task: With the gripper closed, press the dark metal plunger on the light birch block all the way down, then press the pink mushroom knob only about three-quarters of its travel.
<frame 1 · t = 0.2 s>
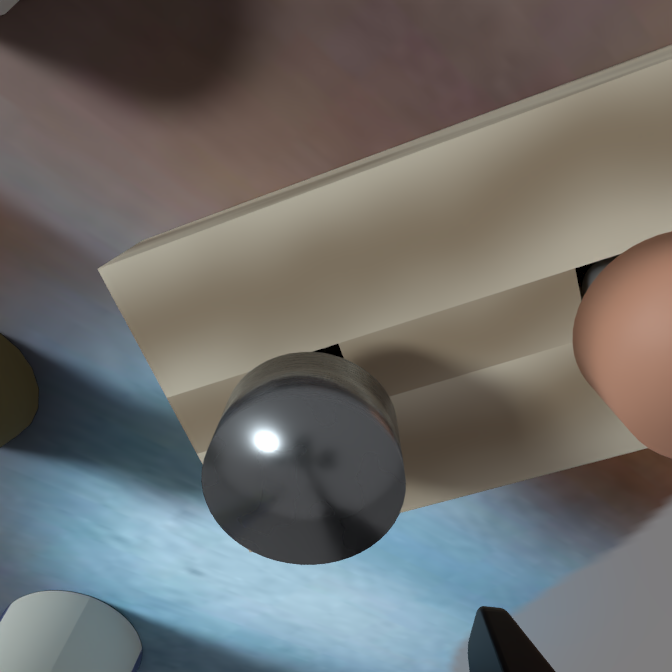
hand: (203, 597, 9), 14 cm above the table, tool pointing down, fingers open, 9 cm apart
water bottle: (68, 637, 29), on the table
pink mushroom knob: (658, 316, 15), point 6 cm above the table, slide at 0.0 cm
metal plunger: (312, 419, 16), point 6 cm above the table, slide at 0.0 cm
plunger block: (442, 300, 21), on the table
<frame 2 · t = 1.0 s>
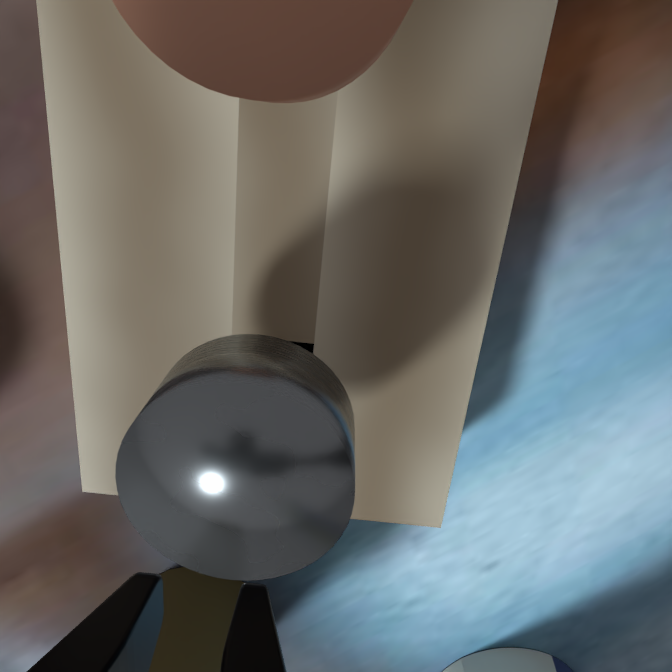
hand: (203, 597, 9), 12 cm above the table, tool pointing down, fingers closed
metal plunger: (259, 412, 14), point 6 cm above the table, slide at 0.0 cm
plunger block: (295, 187, 18), on the table
cork: (202, 611, 26), on the table
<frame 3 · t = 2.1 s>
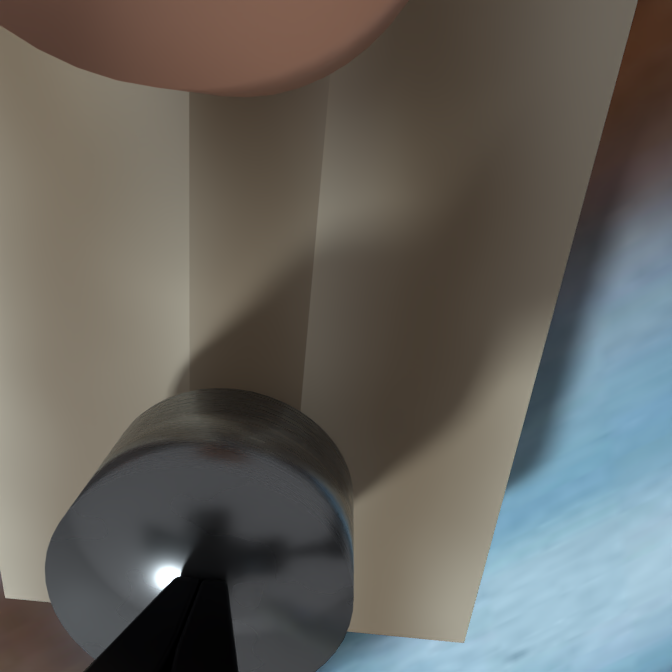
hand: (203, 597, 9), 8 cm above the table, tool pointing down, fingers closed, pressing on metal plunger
metal plunger: (237, 476, 12), point 5 cm above the table, slide at 1.6 cm, touching gripper
plunger block: (278, 208, 14), on the table
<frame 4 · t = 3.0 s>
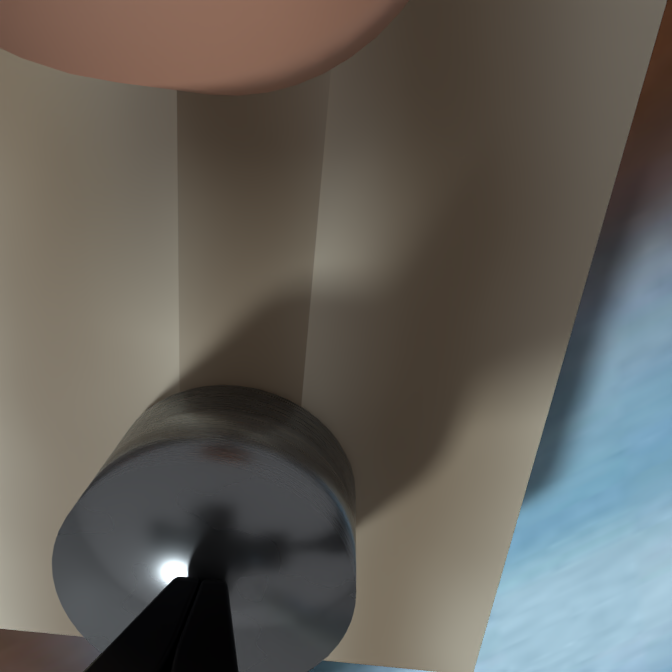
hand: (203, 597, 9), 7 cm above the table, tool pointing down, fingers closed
metal plunger: (240, 473, 12), point 4 cm above the table, slide at 2.6 cm
plunger block: (276, 214, 13), on the table
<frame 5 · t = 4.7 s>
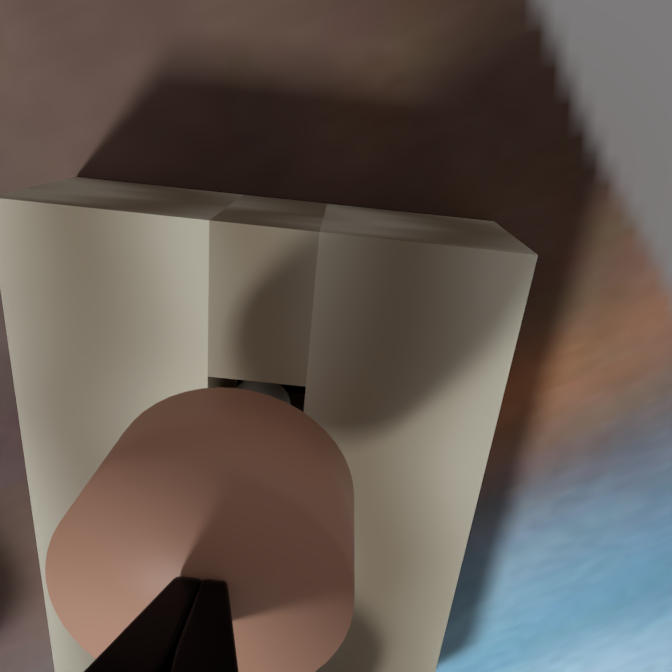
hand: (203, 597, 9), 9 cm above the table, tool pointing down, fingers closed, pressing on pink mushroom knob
pink mushroom knob: (238, 476, 12), point 6 cm above the table, slide at 0.0 cm, touching gripper
plunger block: (267, 484, 19), on the table
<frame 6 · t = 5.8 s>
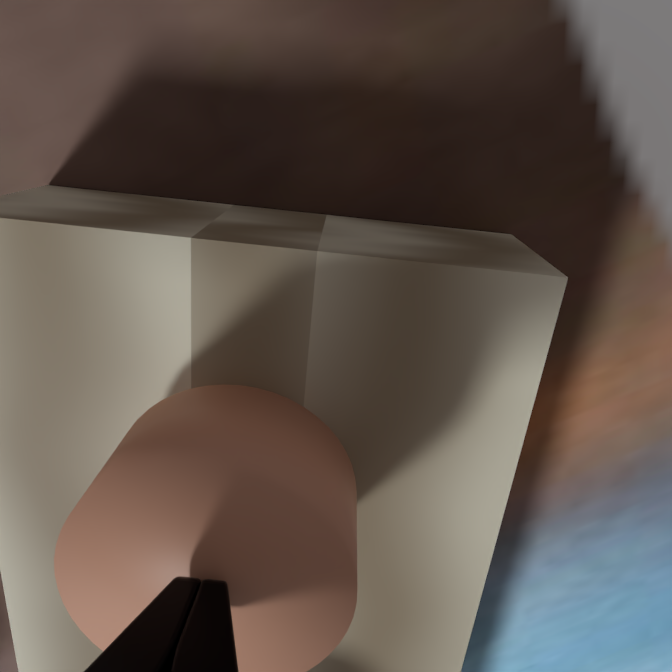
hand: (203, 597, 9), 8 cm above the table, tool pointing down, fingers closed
pink mushroom knob: (242, 472, 12), point 4 cm above the table, slide at 1.8 cm
plunger block: (261, 517, 18), on the table
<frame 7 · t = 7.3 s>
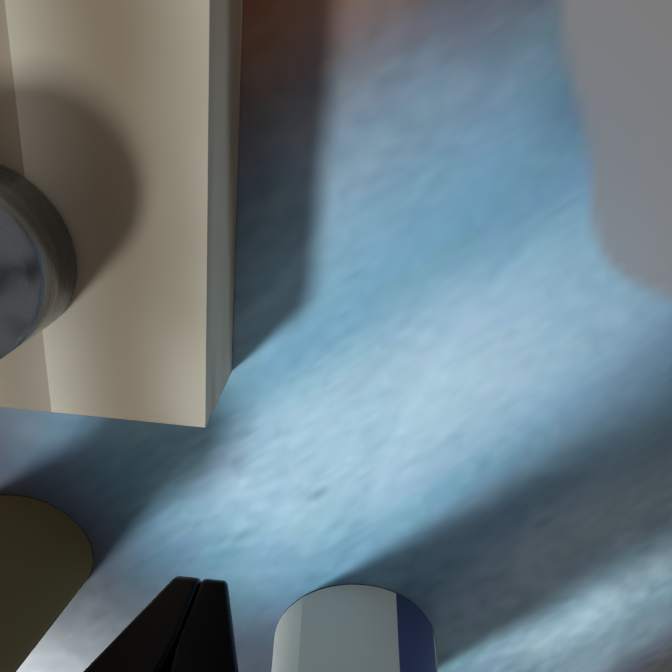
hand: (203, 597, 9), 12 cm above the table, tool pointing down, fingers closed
water bottle: (348, 641, 26), on the table
plunger block: (47, 62, 17), on the table
cork: (28, 546, 25), on the table
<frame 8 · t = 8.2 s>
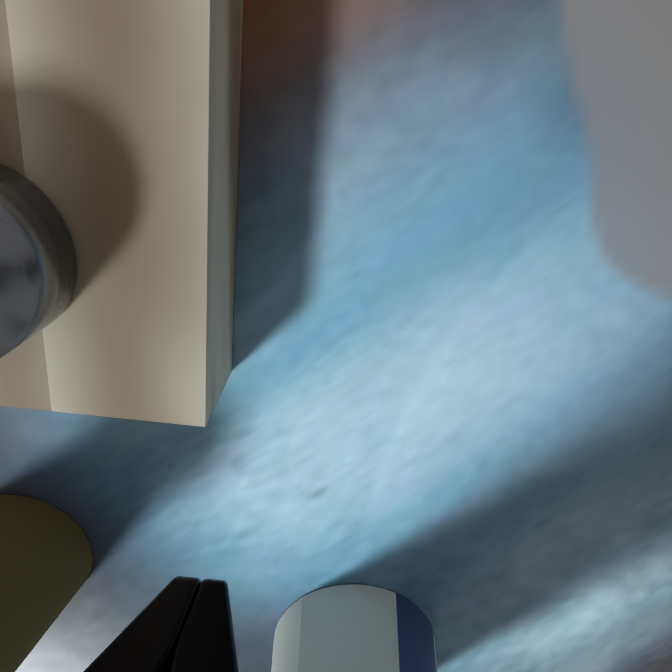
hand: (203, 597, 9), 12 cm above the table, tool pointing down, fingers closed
water bottle: (348, 641, 26), on the table
plunger block: (47, 61, 17), on the table
cork: (28, 545, 25), on the table
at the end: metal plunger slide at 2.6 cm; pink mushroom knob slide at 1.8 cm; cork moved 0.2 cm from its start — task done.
